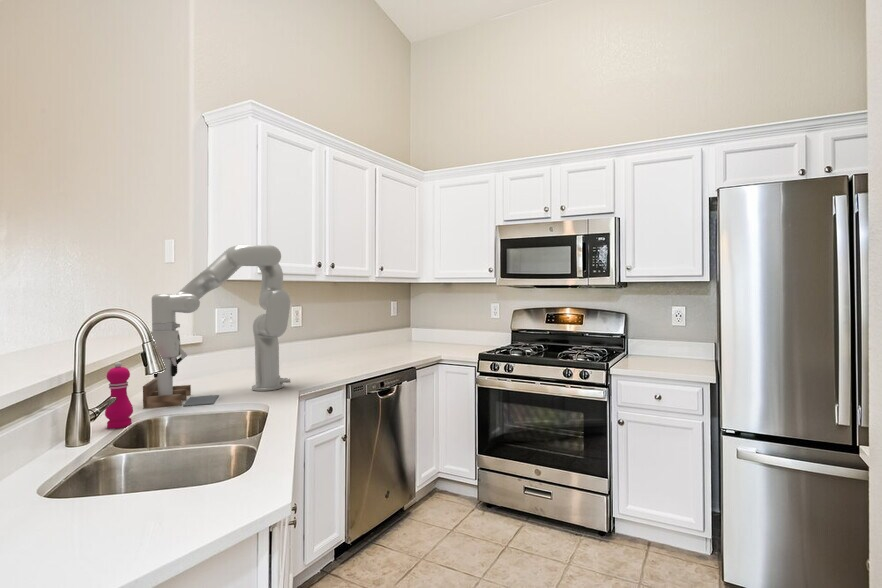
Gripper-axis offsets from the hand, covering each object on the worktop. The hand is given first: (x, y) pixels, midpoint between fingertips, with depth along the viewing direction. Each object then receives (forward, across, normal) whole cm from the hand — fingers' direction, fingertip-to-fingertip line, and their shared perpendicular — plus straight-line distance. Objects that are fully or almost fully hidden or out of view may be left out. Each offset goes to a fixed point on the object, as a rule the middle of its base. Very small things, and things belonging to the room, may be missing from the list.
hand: (165, 375), depth 173 cm
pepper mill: (+11, +7, +27) cm, 30 cm away
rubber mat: (+10, -12, 0) cm, 16 cm away
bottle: (+11, 0, 0) cm, 11 cm away
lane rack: (+10, 0, -4) cm, 11 cm away
